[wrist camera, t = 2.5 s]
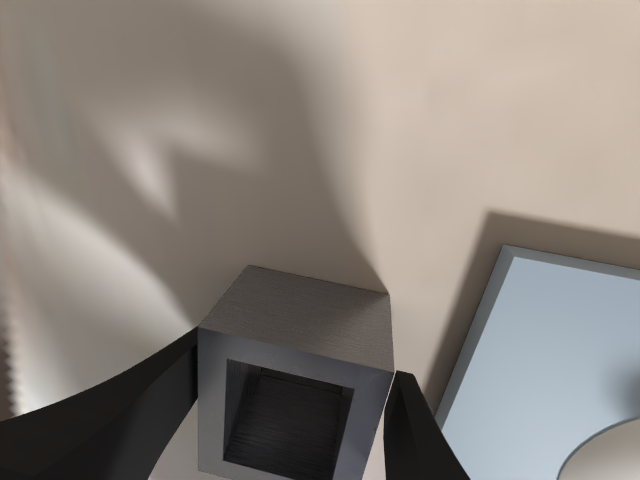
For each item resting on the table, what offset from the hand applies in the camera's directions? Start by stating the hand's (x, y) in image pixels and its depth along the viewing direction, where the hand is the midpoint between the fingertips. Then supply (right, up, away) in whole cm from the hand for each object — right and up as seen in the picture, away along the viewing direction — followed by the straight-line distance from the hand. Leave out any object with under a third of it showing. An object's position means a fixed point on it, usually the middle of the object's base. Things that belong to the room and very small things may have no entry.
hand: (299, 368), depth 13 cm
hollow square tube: (0, +1, +1) cm, 1 cm away
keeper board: (+15, -4, +1) cm, 15 cm away
